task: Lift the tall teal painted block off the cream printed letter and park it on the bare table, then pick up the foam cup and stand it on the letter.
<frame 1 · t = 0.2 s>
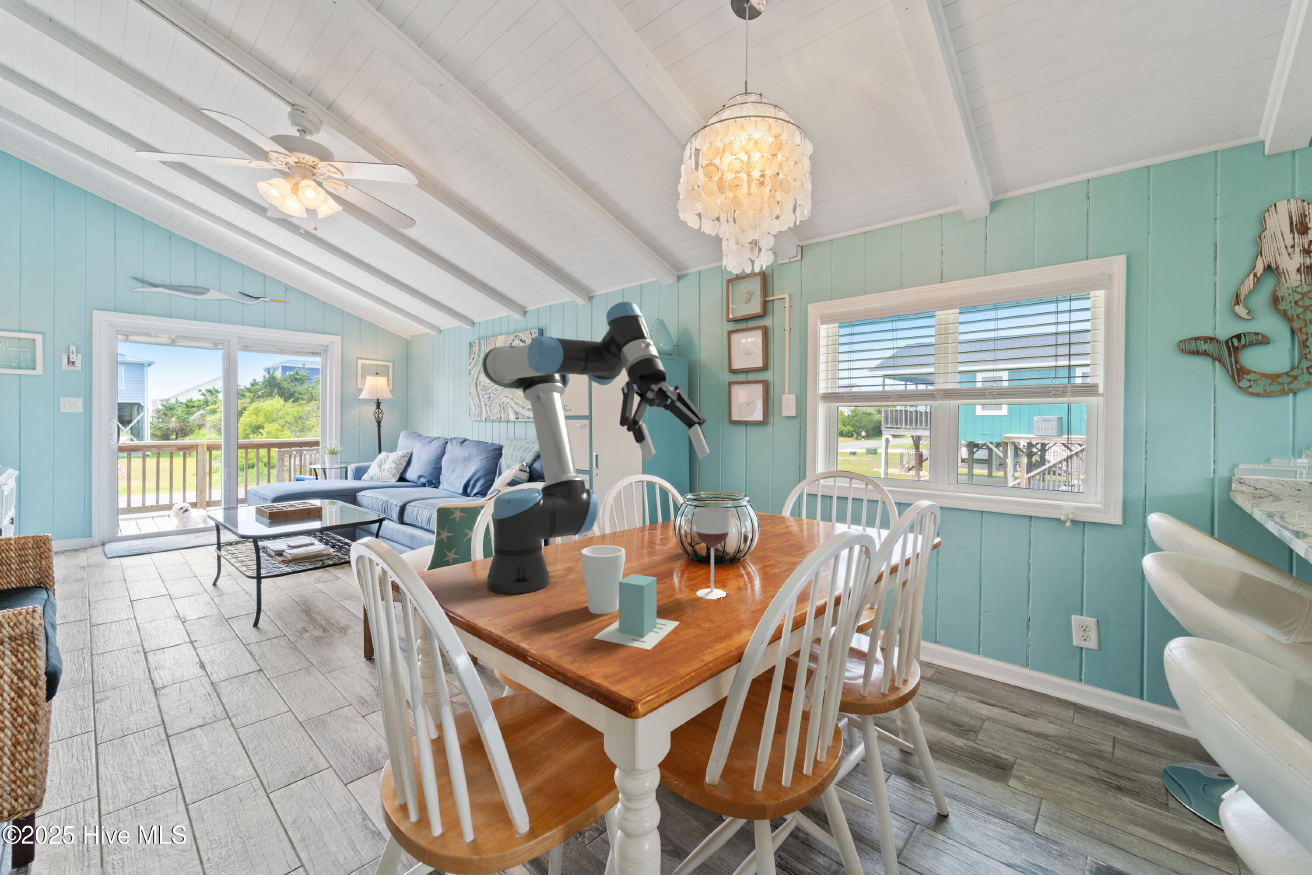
hand: (678, 456, 103), 35 cm above the table, tool tilted 35°, fingers open, 13 cm apart
wineglass: (712, 594, 128), on the table
letter: (637, 630, 107), on the table
block: (637, 629, 107), resting on letter
foam cup: (603, 610, 118), on the table
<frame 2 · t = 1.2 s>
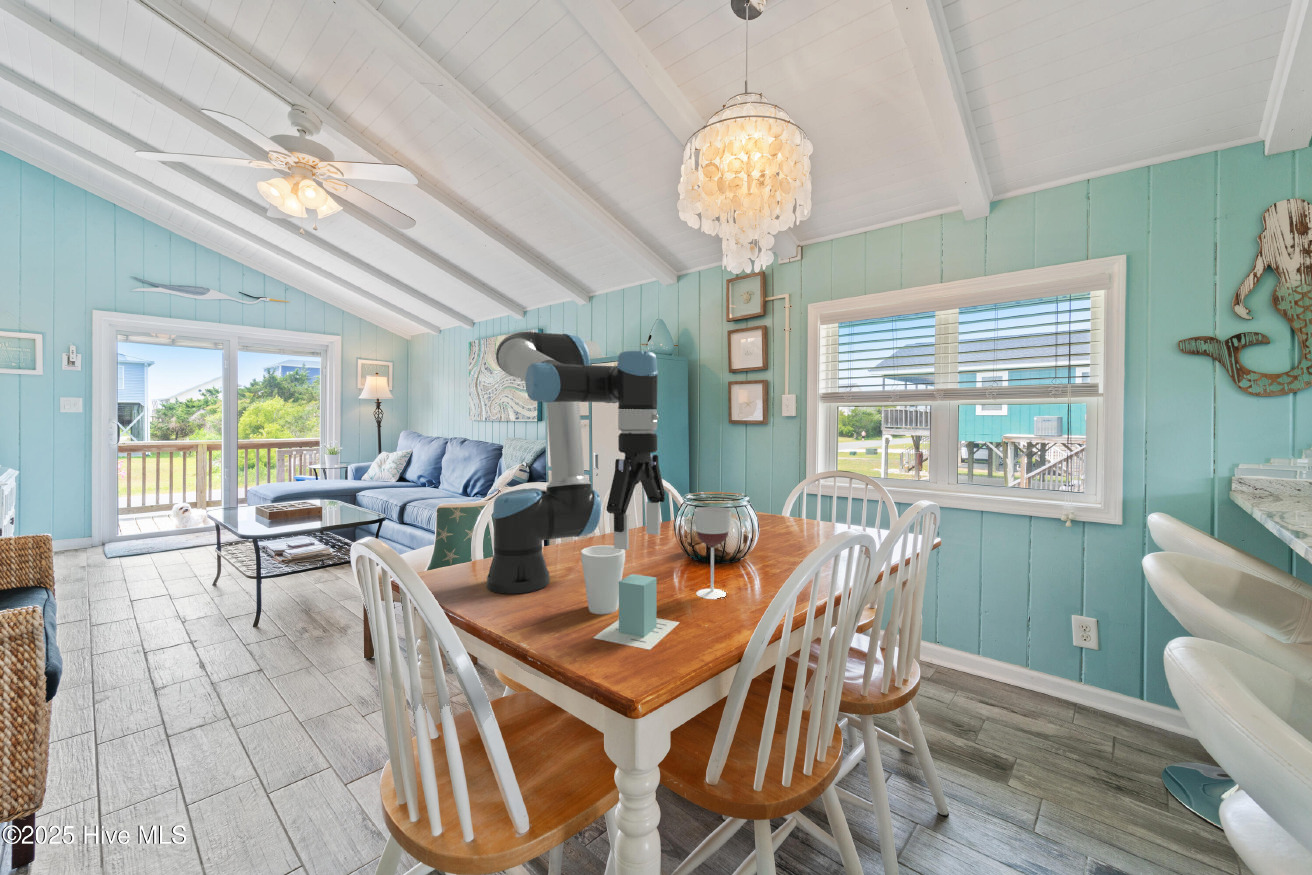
hand: (638, 541, 106), 18 cm above the table, tool pointing down, fingers open, 13 cm apart
nothing on the table moved.
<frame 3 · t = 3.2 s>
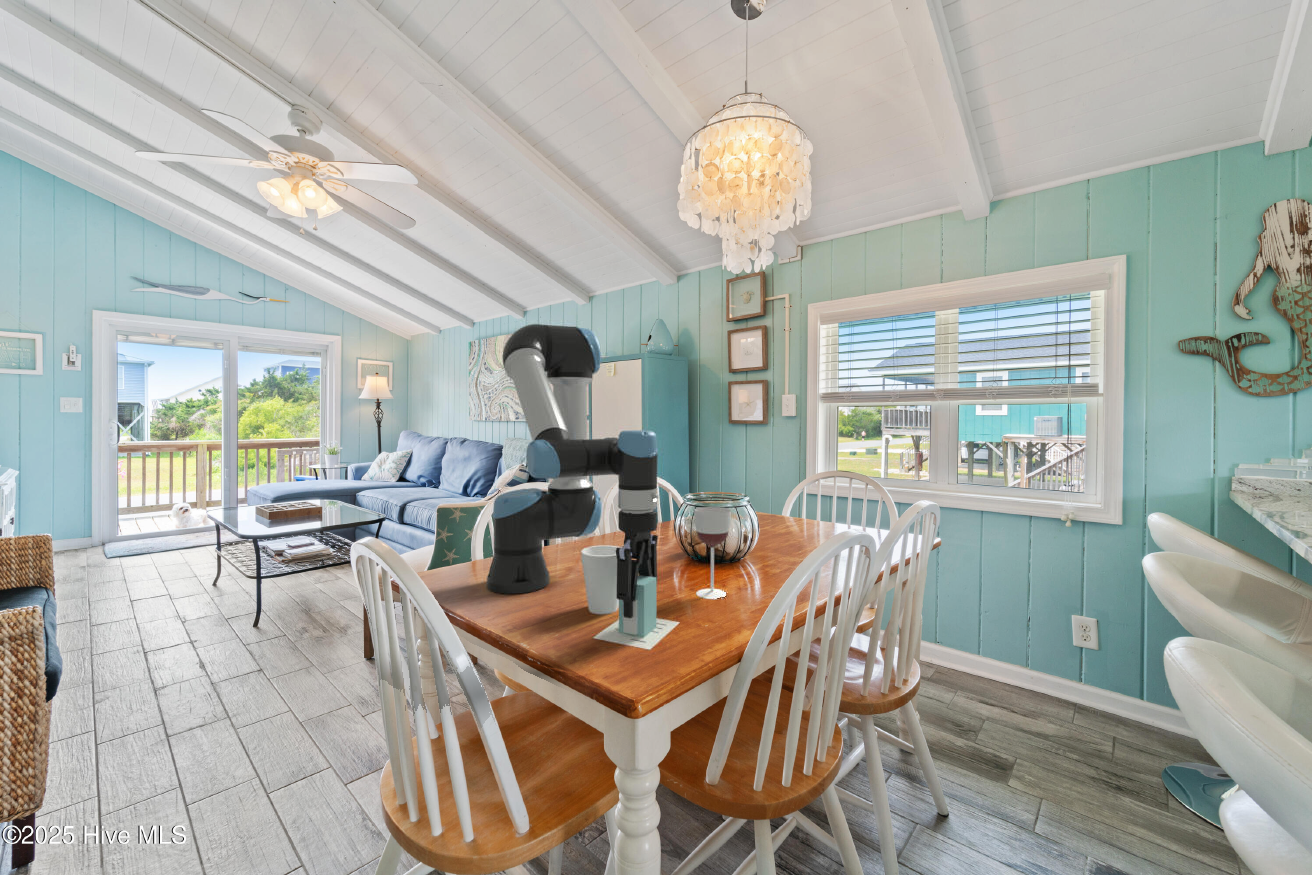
hand: (637, 626, 107), 1 cm above the table, tool pointing down, fingers closed on block, 5 cm apart
block: (637, 629, 107), resting on letter, touching gripper
everything else where it was.
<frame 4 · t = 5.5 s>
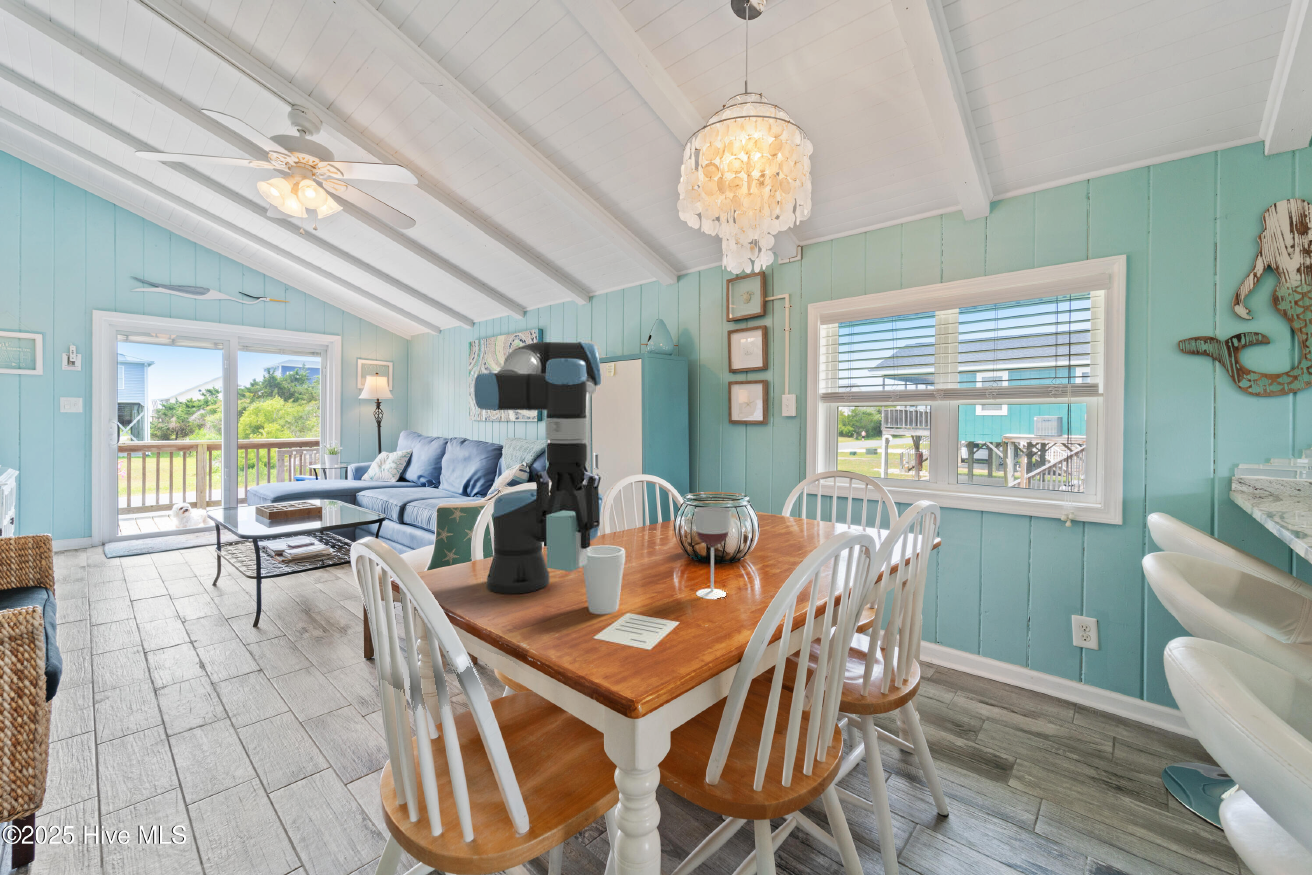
hand: (567, 562, 103), 14 cm above the table, tool pointing down, fingers closed on block, 5 cm apart
block: (567, 566, 103), point 14 cm above the table, touching gripper
everything else where it was.
when the fingers open (2 cm above the table, at t = 7.9 s): block drops 2 cm, on the table.
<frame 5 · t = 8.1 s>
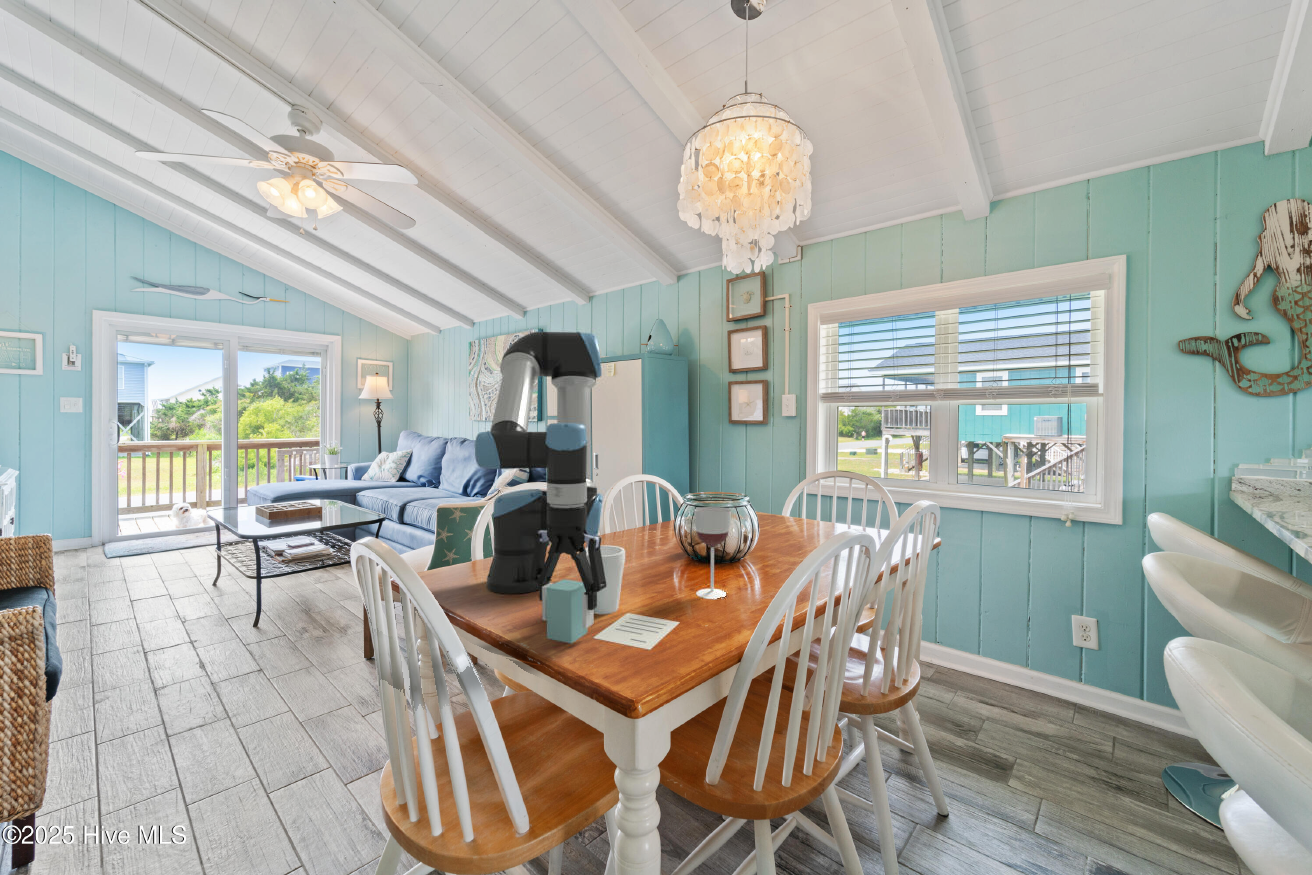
hand: (567, 621, 104), 3 cm above the table, tool pointing down, fingers open, 8 cm apart
block: (567, 636, 104), on the table
everything else where it was.
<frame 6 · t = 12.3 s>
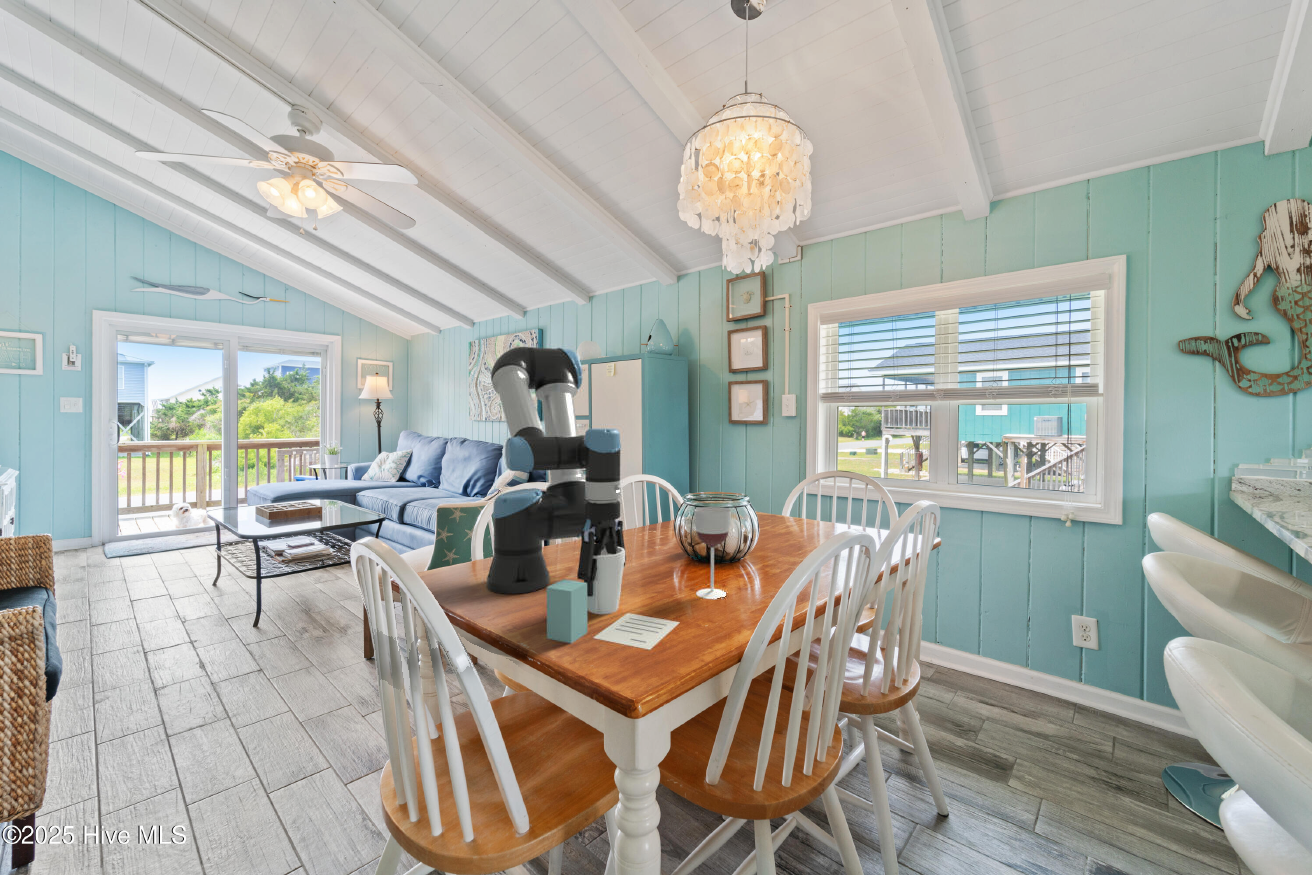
hand: (603, 602, 118), 2 cm above the table, tool pointing down, fingers closed on foam cup, 9 cm apart
foam cup: (603, 610, 118), on the table, touching gripper
everything else where it was.
when the fingers open (3 cm above the table, at t = 17.1 s): foam cup drops 2 cm, resting on letter.
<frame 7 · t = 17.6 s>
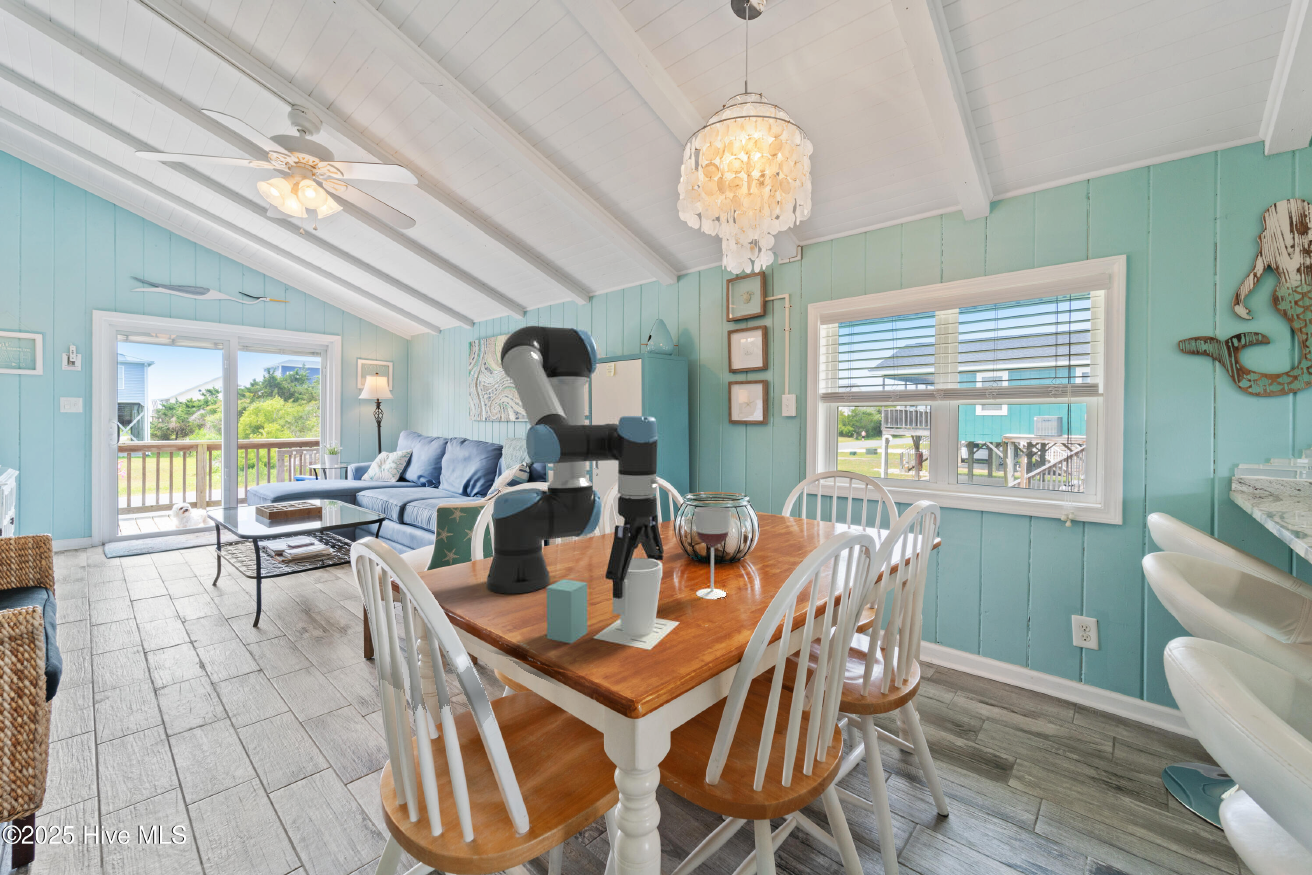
hand: (636, 602, 107), 6 cm above the table, tool pointing down, fingers open, 13 cm apart
foam cup: (637, 630, 107), resting on letter
everything else where it was.
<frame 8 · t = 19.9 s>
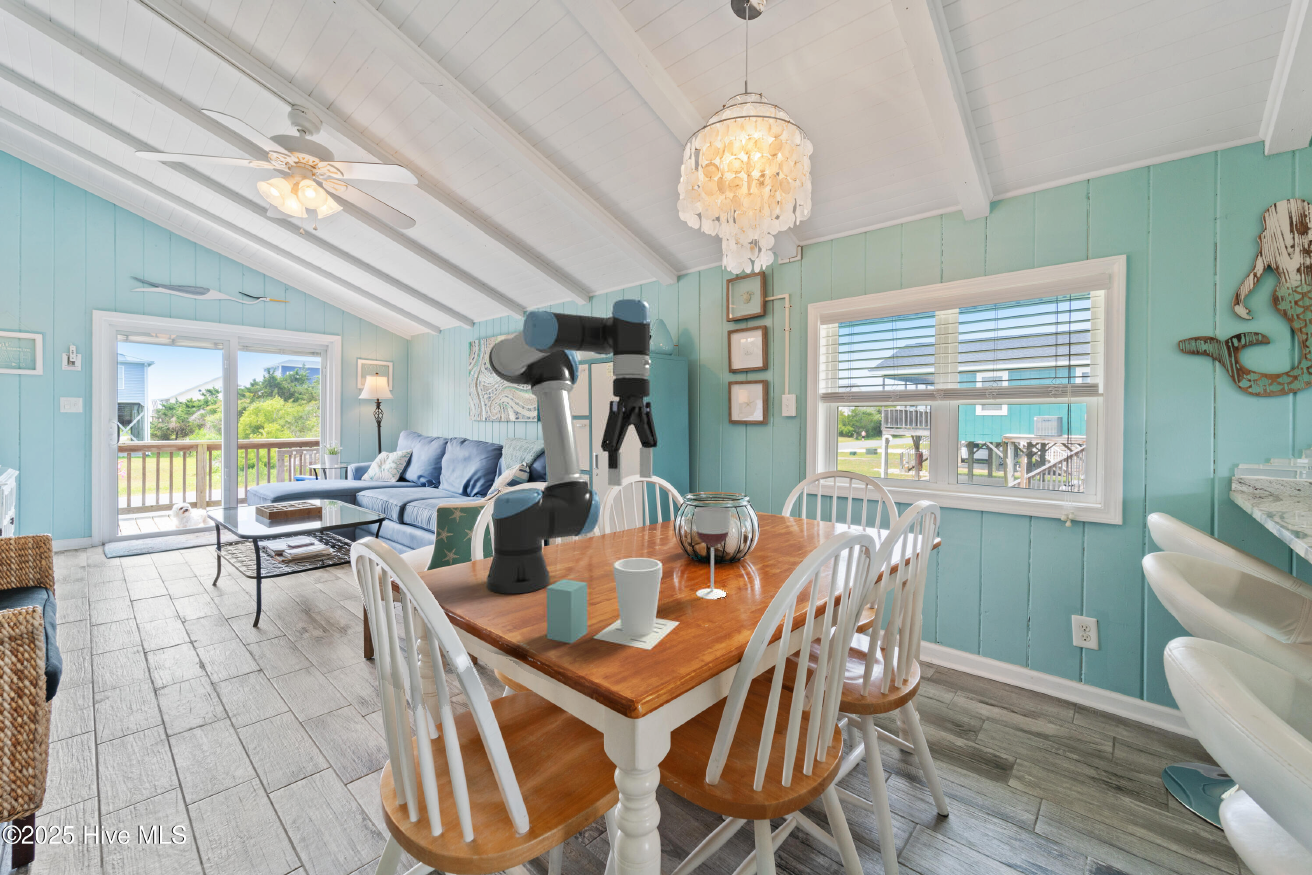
hand: (631, 481, 111), 29 cm above the table, tool pointing down, fingers open, 13 cm apart
nothing on the table moved.
at the end: foam cup inside the target area on the letter (0.1 cm from its centre), point 0.0 cm above the letter's base; foam cup tilted 0°; block inside the target area (0.4 cm from its centre), on the table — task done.
